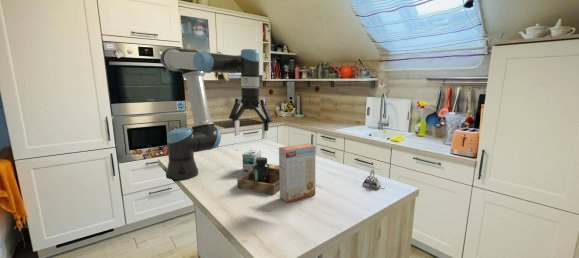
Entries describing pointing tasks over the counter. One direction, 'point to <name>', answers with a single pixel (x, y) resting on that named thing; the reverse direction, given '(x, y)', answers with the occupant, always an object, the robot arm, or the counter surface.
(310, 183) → the cracker box
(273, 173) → the lid
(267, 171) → the supplement bottle
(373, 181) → the grey lumpy piece
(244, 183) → the brown wooden drawer
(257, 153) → the light bulb box
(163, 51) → the robot arm
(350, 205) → the counter surface
